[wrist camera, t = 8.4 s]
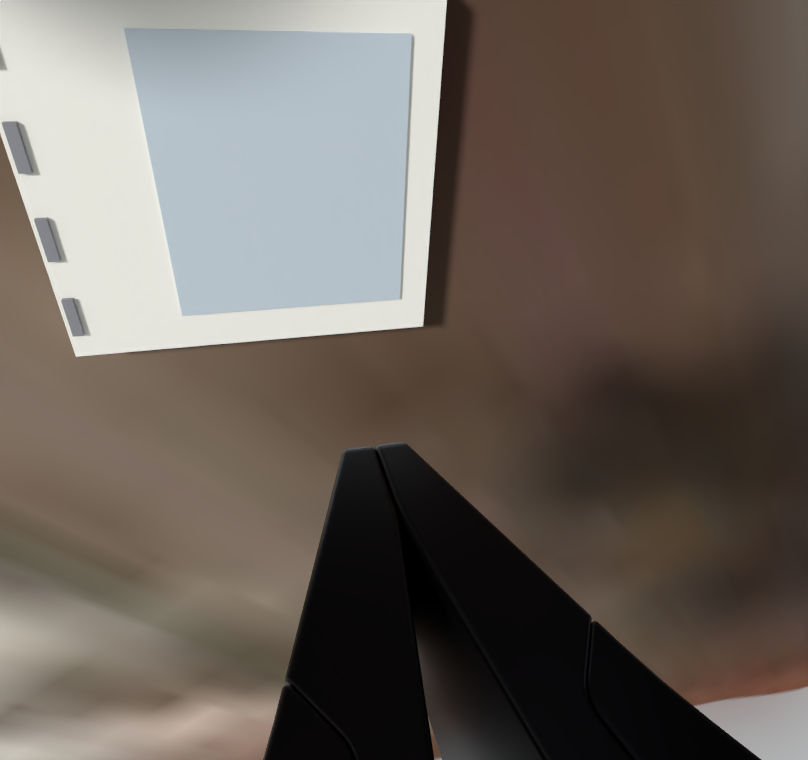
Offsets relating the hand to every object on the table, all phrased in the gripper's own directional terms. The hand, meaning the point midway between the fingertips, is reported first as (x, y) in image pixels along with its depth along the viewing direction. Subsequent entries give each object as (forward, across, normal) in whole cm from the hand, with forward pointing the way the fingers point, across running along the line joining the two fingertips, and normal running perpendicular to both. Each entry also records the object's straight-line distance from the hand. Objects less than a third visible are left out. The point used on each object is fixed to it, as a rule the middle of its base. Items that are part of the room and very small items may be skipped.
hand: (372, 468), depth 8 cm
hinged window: (+12, +2, 0) cm, 13 cm away
